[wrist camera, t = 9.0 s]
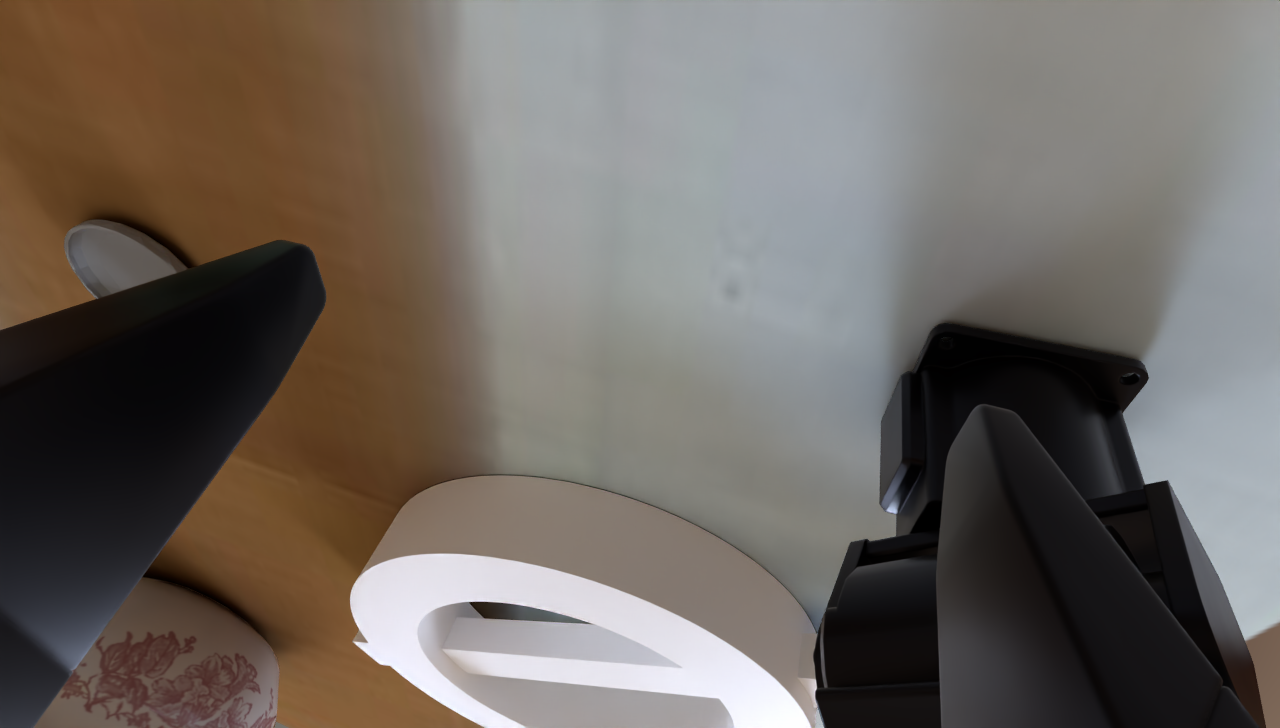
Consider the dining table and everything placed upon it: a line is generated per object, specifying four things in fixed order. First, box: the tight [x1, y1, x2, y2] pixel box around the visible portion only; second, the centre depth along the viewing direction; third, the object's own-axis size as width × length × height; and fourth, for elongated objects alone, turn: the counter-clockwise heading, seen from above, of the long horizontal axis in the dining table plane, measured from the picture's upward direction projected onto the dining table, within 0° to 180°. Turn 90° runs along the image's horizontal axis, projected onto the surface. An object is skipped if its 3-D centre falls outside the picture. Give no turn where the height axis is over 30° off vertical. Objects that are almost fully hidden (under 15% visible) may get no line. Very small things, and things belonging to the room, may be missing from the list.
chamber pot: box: [34, 577, 280, 728], centre depth 59 cm, size 28×28×21 cm
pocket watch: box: [64, 220, 188, 299], centre depth 29 cm, size 8×8×10 cm
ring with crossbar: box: [350, 475, 818, 728], centre depth 42 cm, size 28×28×5 cm
